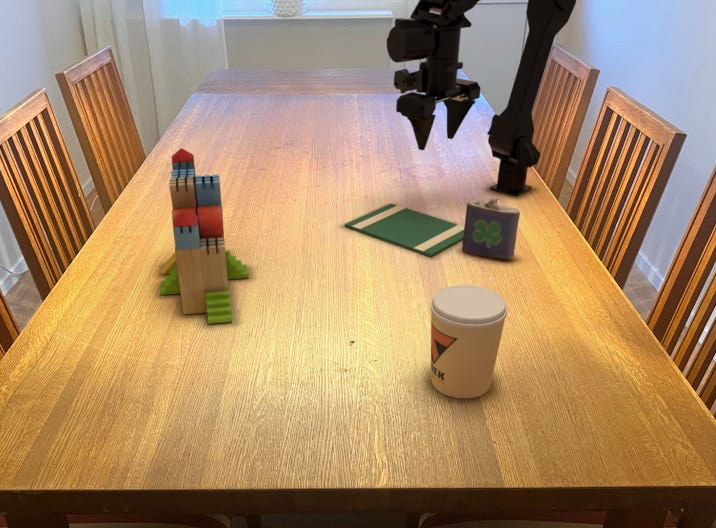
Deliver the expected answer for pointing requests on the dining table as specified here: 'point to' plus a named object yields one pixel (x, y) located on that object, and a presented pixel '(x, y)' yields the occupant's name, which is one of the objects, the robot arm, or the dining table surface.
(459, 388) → the coffee cup
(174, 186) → the block set
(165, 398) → the dining table surface
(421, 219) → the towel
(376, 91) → the dining table surface
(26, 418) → the dining table surface
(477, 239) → the flask
